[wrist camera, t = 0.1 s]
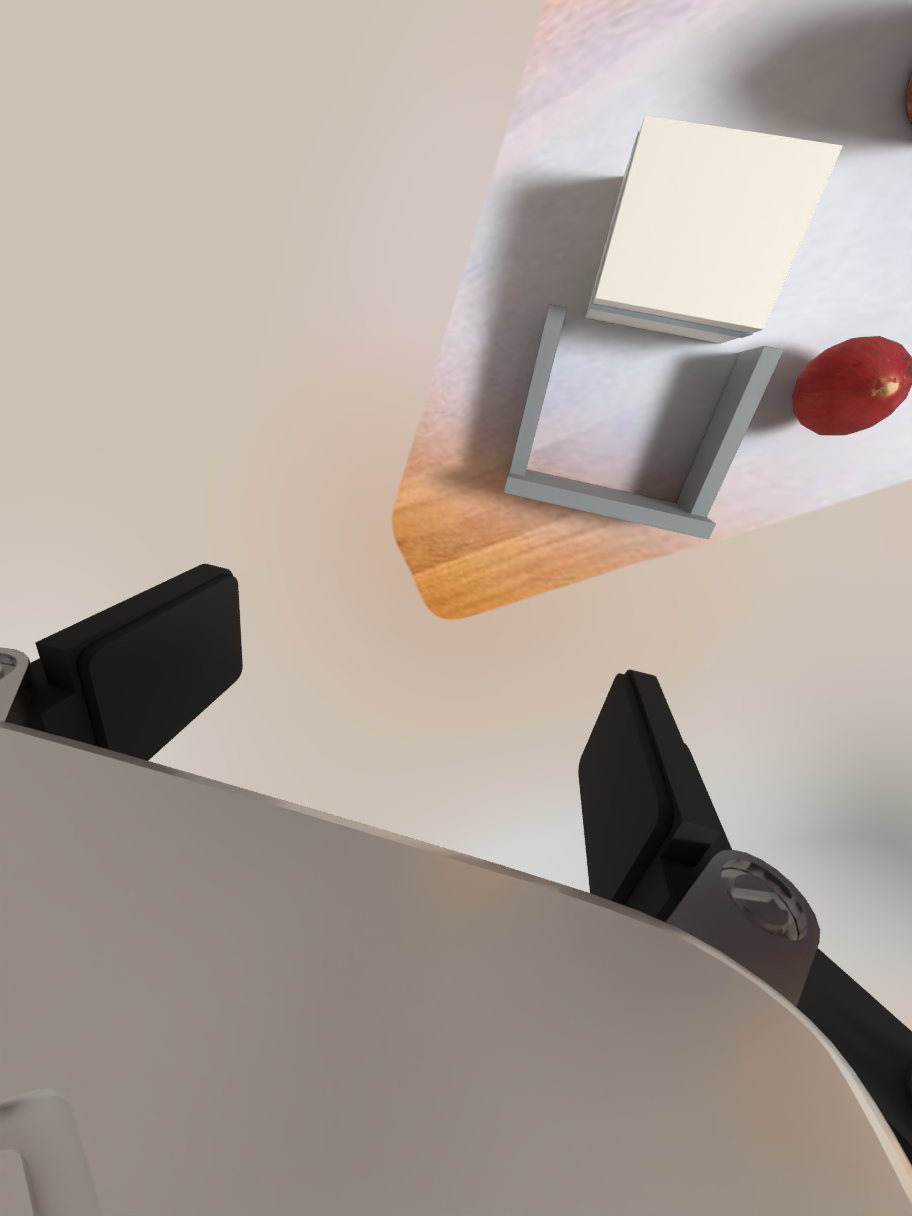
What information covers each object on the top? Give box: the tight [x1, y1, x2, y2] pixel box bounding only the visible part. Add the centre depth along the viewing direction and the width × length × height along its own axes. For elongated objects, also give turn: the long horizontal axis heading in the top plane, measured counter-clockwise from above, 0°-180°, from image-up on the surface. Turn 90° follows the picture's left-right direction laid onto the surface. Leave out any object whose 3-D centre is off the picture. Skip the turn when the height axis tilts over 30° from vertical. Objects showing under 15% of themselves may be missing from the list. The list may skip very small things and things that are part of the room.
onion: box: [792, 336, 912, 435], centre depth 28 cm, size 6×6×8 cm
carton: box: [585, 115, 843, 344], centre depth 27 cm, size 8×10×7 cm
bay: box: [504, 305, 783, 539], centre depth 32 cm, size 12×15×6 cm
